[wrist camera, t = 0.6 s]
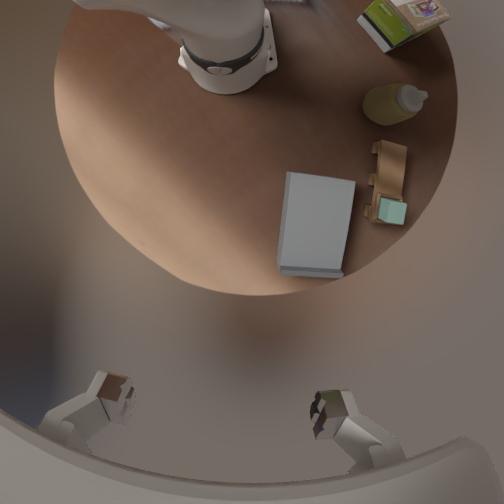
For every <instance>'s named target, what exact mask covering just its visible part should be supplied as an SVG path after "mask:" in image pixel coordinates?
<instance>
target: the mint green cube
mask: <svg viewBox="0 0 504 504" xmlns="http://www.w3.org/2000/svg"><path fill="white" fill-rule="evenodd" d="M406 207H407V204H406V203H403V202H400V201H397V200H393V199H388V198H382V197H380V202H379V208H378V214H377V218H379V219H381V220H383V221H385V222H388V223H395V224H402V225H403V223H404V218H405V213H406Z"/></svg>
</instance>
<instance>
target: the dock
mask: <svg viewBox="0 0 504 504" xmlns="http://www.w3.org/2000/svg"><path fill="white" fill-rule="evenodd" d="M354 189H355V181H351V180H346V179H341V178H334V177H328V176H321V175H314V174H307V173H299V172H291V171H287V173H286V182H285V192H284V201H283V209H282V218H281V227H280V235H279V243H278V251H277V259H276V261H277V265H278V268H279V271H280V274H281V275H290V276H308V277H326V278H343V274H344V273H343V272H342V271H341V270H340V269H341V264H342V259H343V254H344V249H345V244H346V239H347V233H348V228H349V222H350V216H351V209H352V203H353V196H354Z"/></svg>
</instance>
